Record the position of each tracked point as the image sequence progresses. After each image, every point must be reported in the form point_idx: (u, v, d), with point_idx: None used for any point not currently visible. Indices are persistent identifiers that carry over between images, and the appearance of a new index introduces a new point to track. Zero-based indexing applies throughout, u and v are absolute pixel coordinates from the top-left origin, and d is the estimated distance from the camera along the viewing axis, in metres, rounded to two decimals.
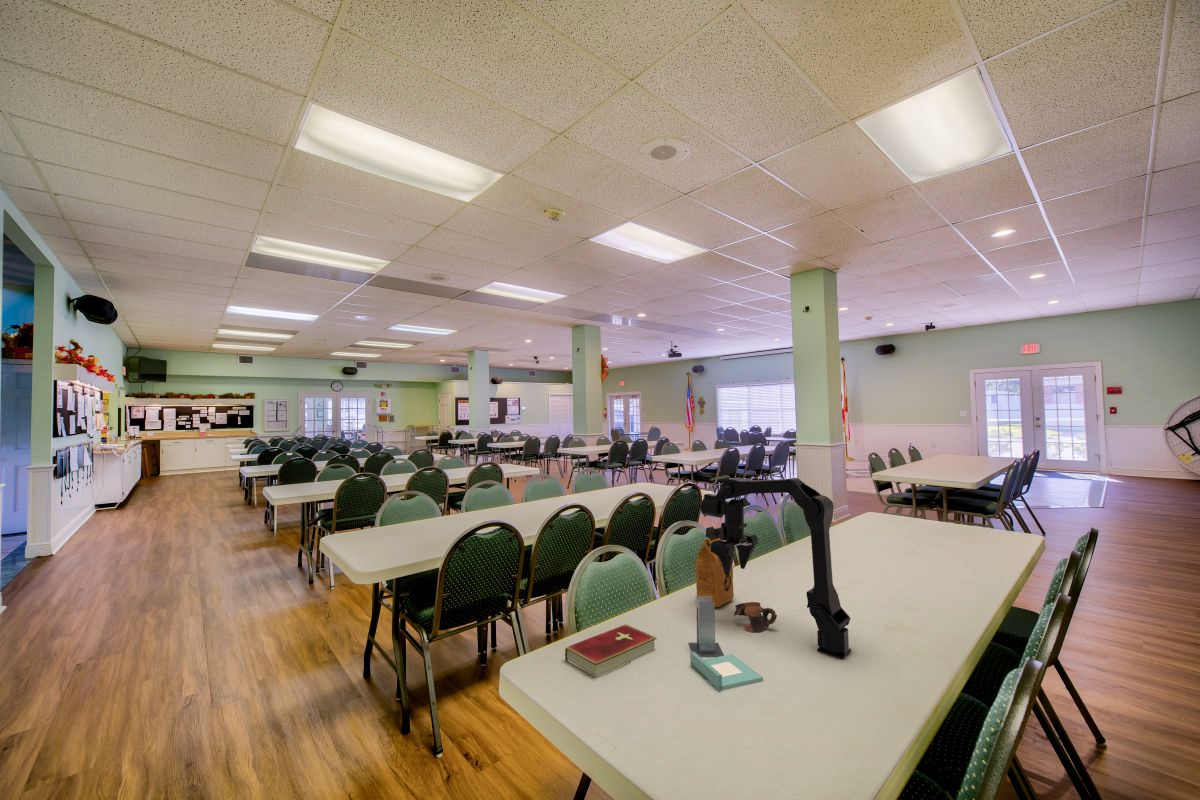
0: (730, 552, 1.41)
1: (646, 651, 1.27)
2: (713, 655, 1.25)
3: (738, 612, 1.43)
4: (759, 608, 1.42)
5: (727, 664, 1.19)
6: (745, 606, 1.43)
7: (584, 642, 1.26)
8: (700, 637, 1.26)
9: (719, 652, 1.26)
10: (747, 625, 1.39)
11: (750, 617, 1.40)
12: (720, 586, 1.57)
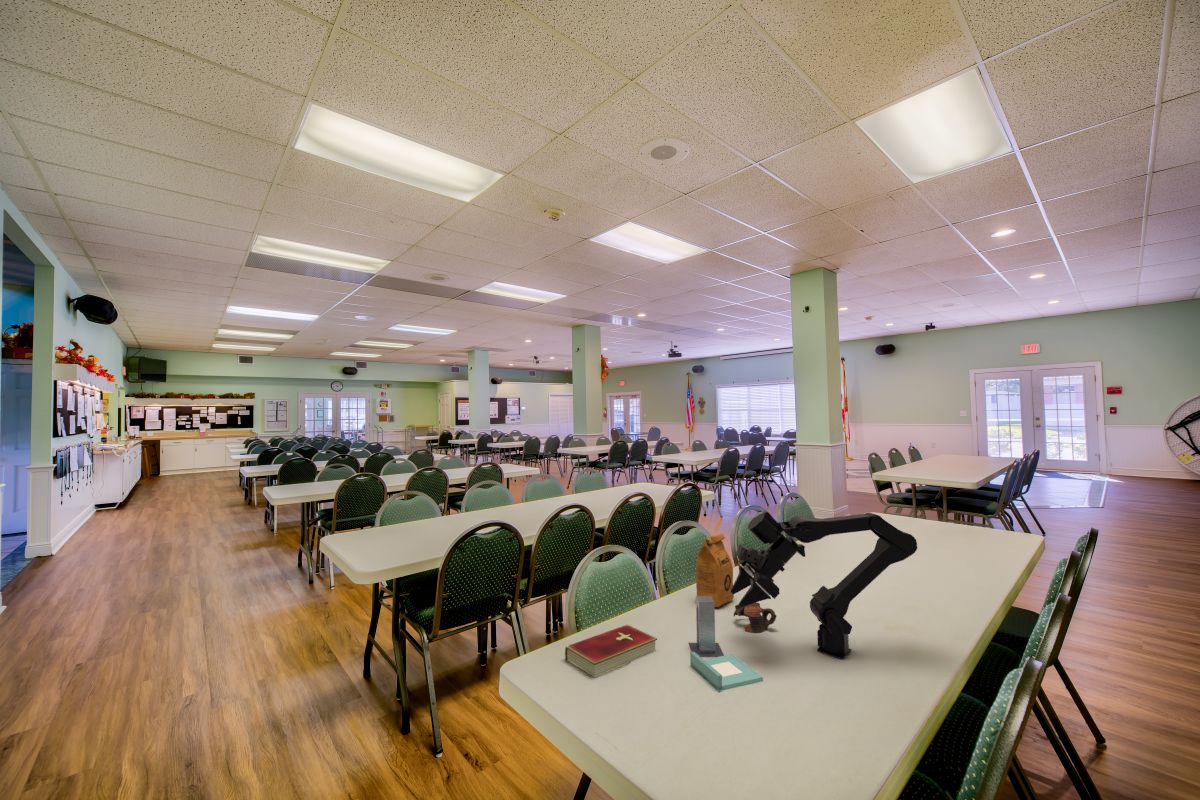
0: None
1: (646, 652, 1.26)
2: (713, 655, 1.25)
3: (738, 612, 1.42)
4: (759, 608, 1.42)
5: (727, 664, 1.19)
6: (745, 606, 1.42)
7: (584, 642, 1.26)
8: (700, 637, 1.26)
9: (719, 652, 1.26)
10: (747, 625, 1.39)
11: (750, 617, 1.40)
12: (720, 586, 1.57)
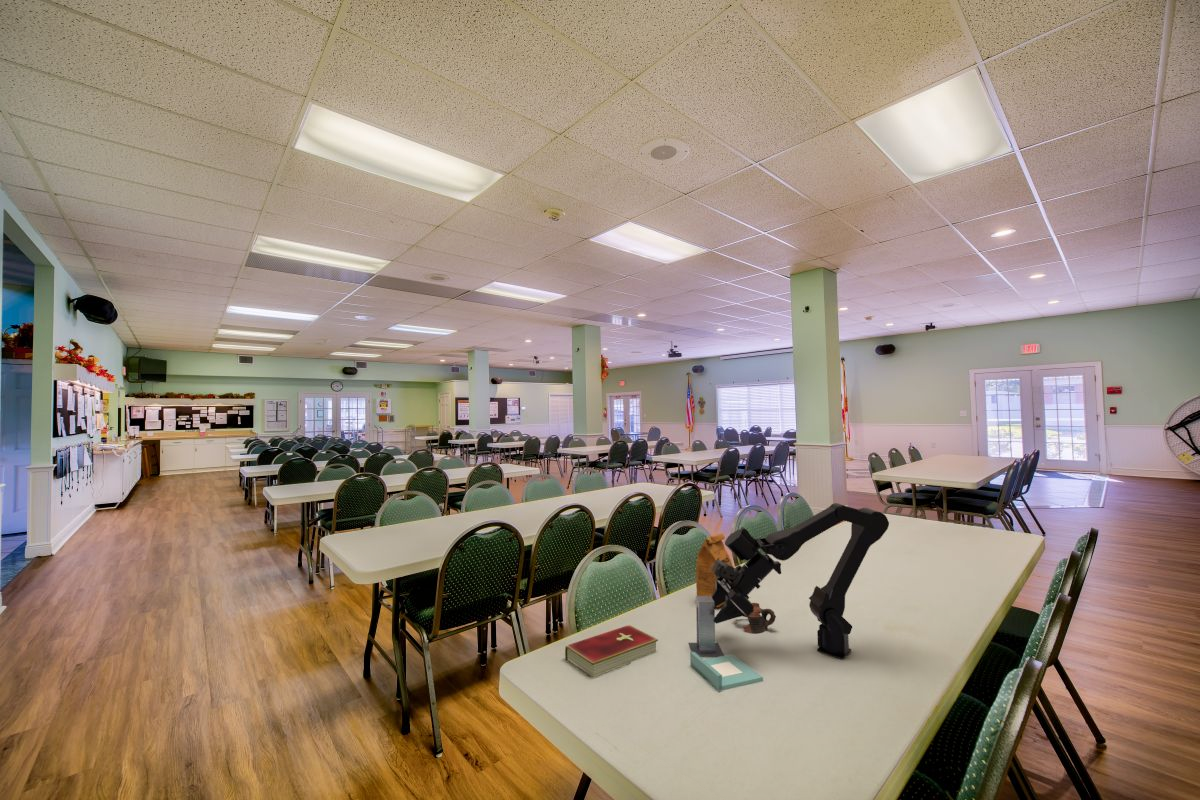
0: None
1: (647, 653, 1.26)
2: (713, 655, 1.25)
3: None
4: (758, 609, 1.41)
5: (727, 664, 1.19)
6: None
7: (585, 641, 1.26)
8: (700, 637, 1.26)
9: (719, 652, 1.26)
10: (746, 626, 1.39)
11: (749, 618, 1.39)
12: None
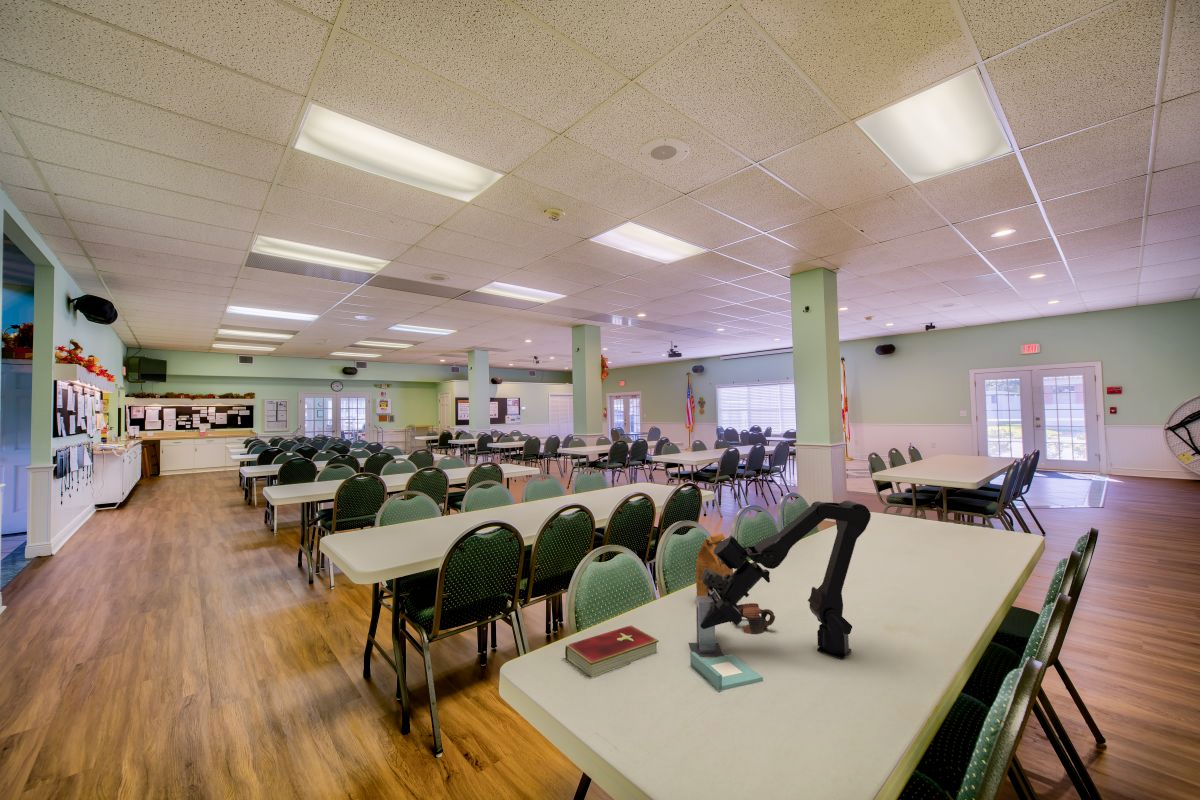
0: None
1: (647, 653, 1.25)
2: (713, 655, 1.25)
3: None
4: (757, 609, 1.41)
5: (727, 664, 1.19)
6: (743, 607, 1.42)
7: (585, 641, 1.27)
8: (700, 637, 1.26)
9: (719, 652, 1.26)
10: (745, 626, 1.38)
11: (748, 618, 1.39)
12: None
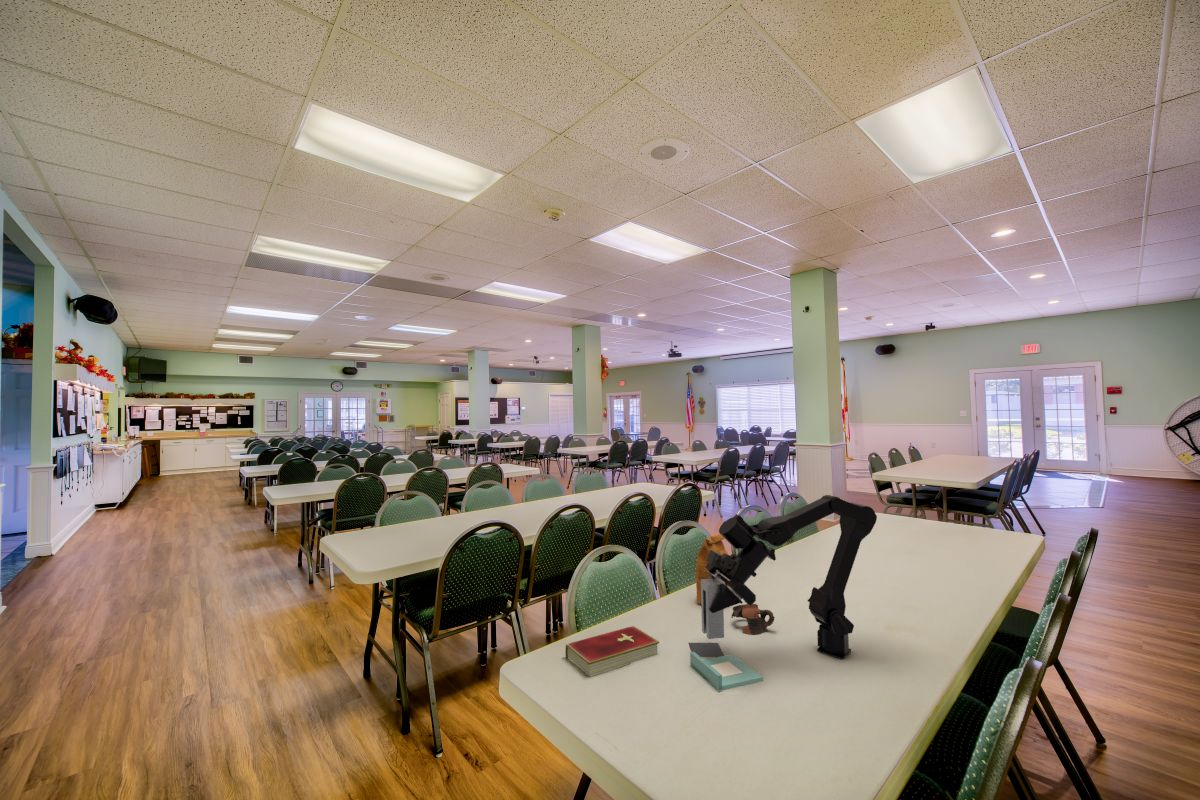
0: None
1: (647, 654, 1.25)
2: (713, 655, 1.25)
3: (736, 614, 1.41)
4: (757, 610, 1.41)
5: (727, 664, 1.19)
6: (743, 608, 1.41)
7: (585, 640, 1.27)
8: (709, 622, 1.20)
9: (719, 652, 1.26)
10: (745, 627, 1.38)
11: (748, 619, 1.38)
12: None
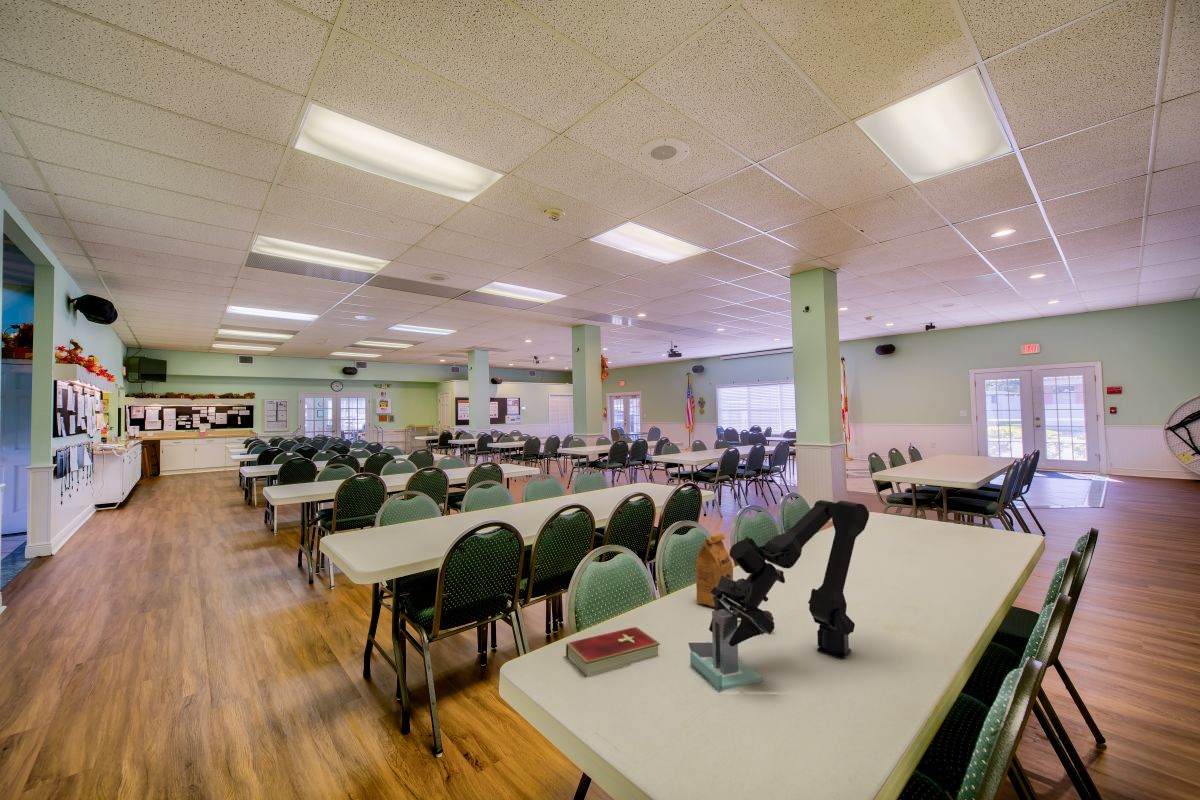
0: None
1: (648, 656, 1.24)
2: None
3: None
4: None
5: None
6: None
7: (586, 640, 1.27)
8: (724, 657, 1.14)
9: None
10: None
11: None
12: None
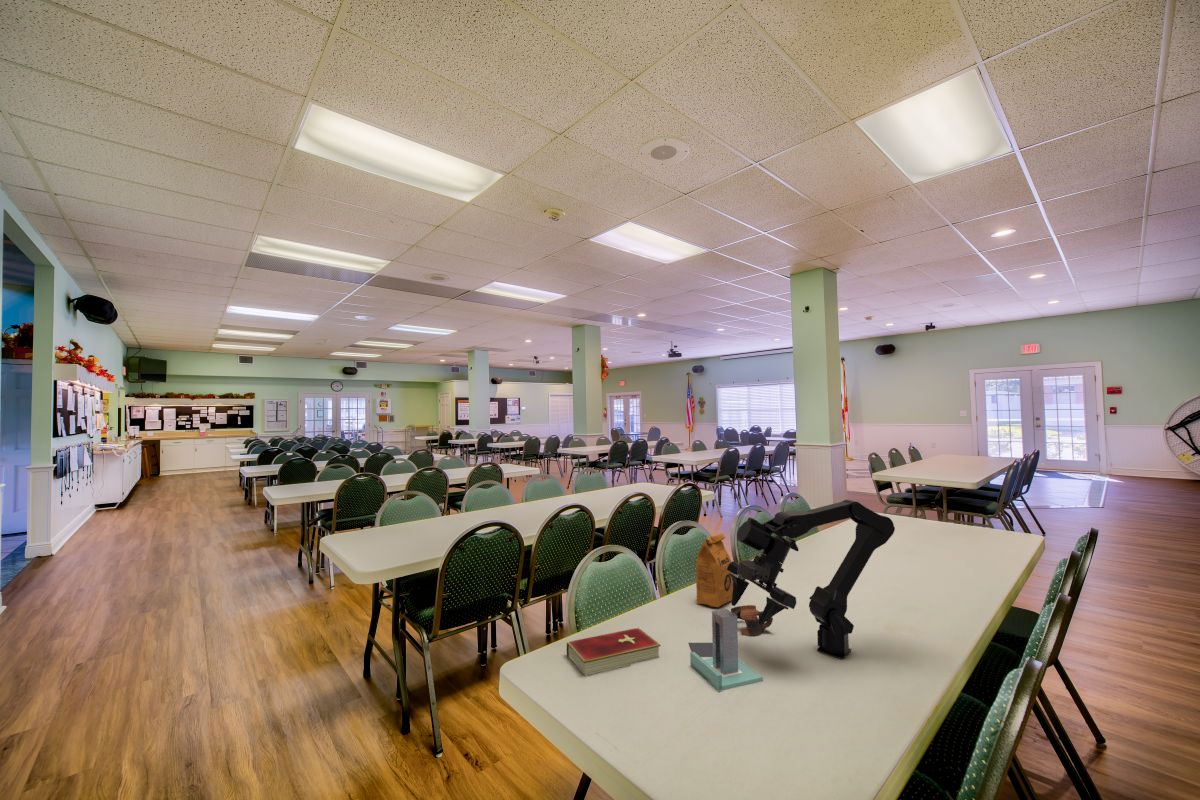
0: None
1: (648, 657, 1.23)
2: None
3: None
4: (755, 611, 1.40)
5: None
6: (741, 609, 1.40)
7: (587, 640, 1.27)
8: (724, 657, 1.14)
9: None
10: (743, 629, 1.37)
11: (746, 621, 1.37)
12: (720, 586, 1.57)
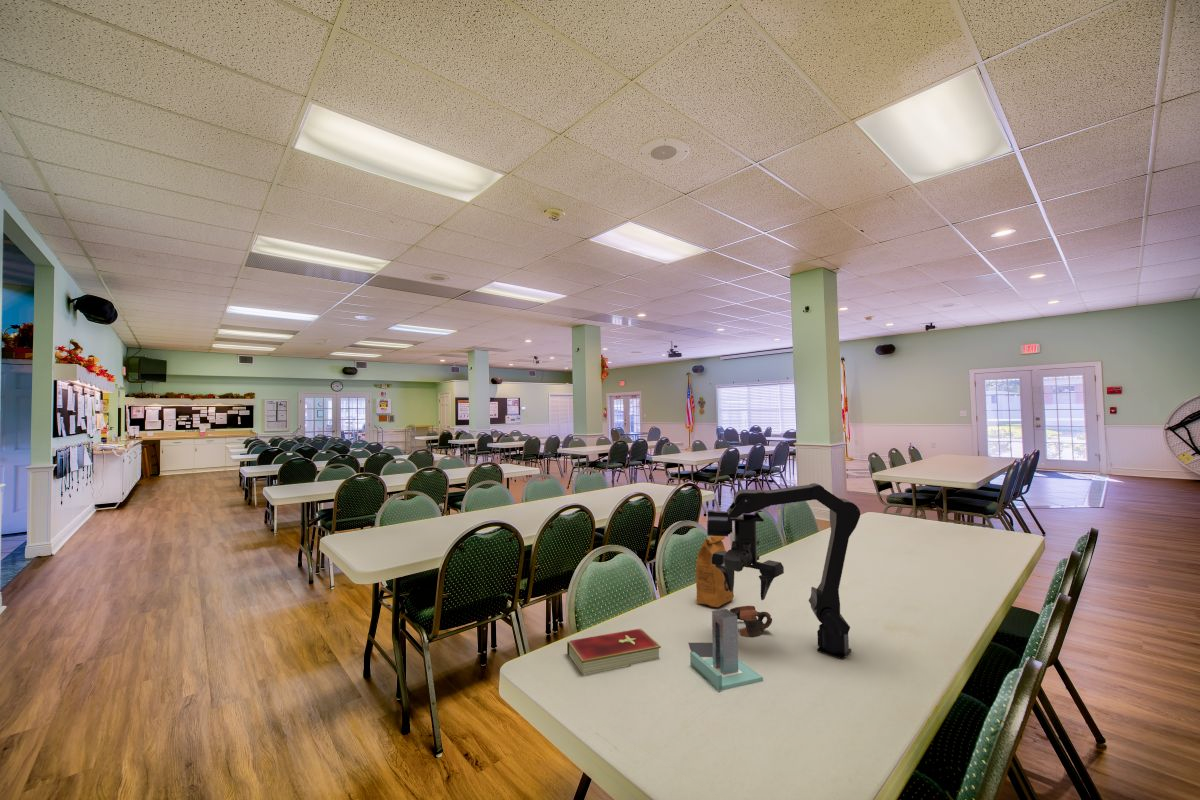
0: None
1: (648, 658, 1.23)
2: None
3: None
4: (754, 612, 1.39)
5: None
6: (740, 610, 1.40)
7: (587, 639, 1.28)
8: (724, 657, 1.14)
9: None
10: (742, 629, 1.36)
11: (745, 621, 1.37)
12: (720, 586, 1.57)
